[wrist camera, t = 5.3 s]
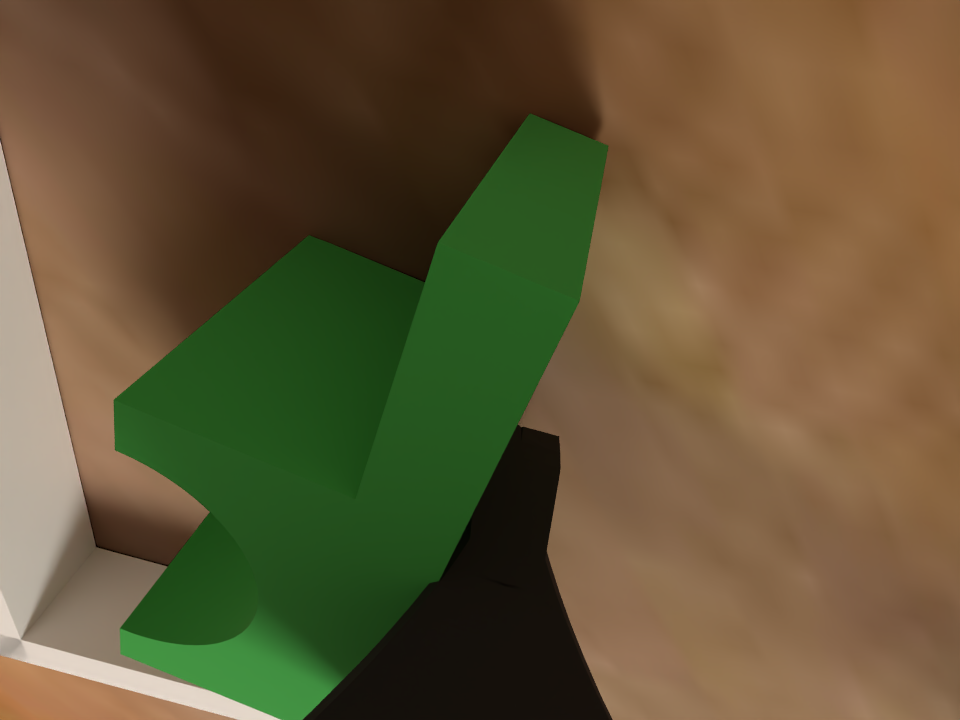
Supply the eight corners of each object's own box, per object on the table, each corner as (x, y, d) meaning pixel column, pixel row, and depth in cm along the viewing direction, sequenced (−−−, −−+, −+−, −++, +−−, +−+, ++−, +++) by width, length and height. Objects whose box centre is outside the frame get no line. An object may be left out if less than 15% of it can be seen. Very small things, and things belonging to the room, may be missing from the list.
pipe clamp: (348, 34, 8) (101, 96, 4) (610, 143, 8) (585, 296, 5) (252, 542, 15) (116, 745, 11) (401, 602, 15) (317, 827, 11)
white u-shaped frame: (591, -179, 7) (589, -228, 5) (391, 649, 16) (361, 753, 14) (-211, -391, 7) (-571, -533, 5) (64, 561, 16) (-13, 651, 14)
